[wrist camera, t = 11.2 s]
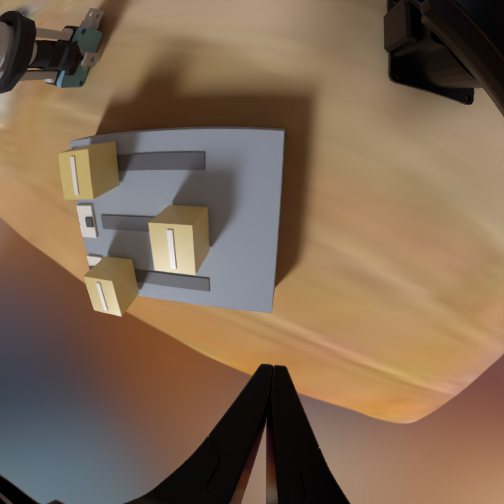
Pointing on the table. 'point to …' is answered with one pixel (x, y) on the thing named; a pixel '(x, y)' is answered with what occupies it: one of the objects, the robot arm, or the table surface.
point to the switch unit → (194, 194)
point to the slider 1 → (89, 170)
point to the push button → (47, 51)
